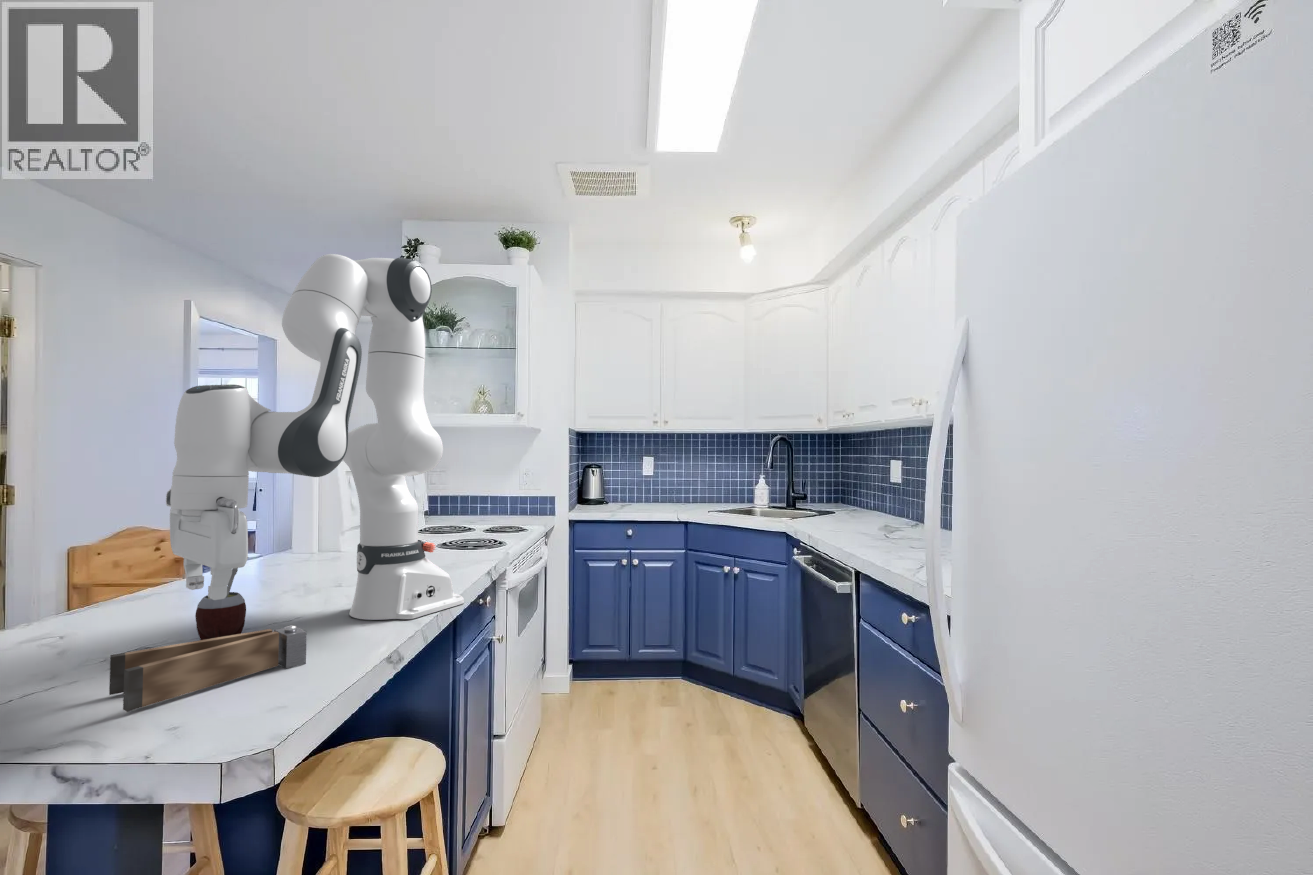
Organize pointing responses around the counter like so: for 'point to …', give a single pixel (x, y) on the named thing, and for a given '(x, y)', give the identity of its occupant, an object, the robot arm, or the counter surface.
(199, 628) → the mate gourd
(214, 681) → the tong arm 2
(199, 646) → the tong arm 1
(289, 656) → the block
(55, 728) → the counter surface
